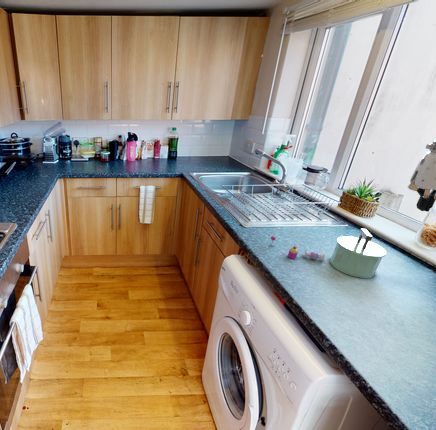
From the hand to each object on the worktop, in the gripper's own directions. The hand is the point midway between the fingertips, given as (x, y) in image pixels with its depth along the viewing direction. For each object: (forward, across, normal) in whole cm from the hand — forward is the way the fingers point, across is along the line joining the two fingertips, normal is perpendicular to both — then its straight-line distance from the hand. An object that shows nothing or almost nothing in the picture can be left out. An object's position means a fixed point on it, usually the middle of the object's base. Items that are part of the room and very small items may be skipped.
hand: (422, 209), depth 87 cm
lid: (+17, -10, +2) cm, 20 cm away
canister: (+25, -10, +2) cm, 27 cm away
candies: (+25, -28, +3) cm, 38 cm away
